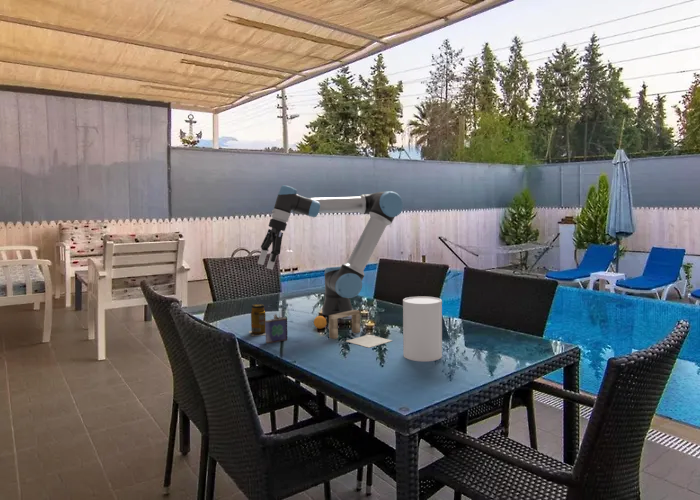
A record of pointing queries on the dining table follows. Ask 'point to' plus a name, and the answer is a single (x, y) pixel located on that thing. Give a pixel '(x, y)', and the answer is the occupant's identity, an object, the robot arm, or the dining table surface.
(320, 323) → the ball
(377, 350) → the dining table surface
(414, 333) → the canister
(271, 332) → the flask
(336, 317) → the bridge
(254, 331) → the condiment
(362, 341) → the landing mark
